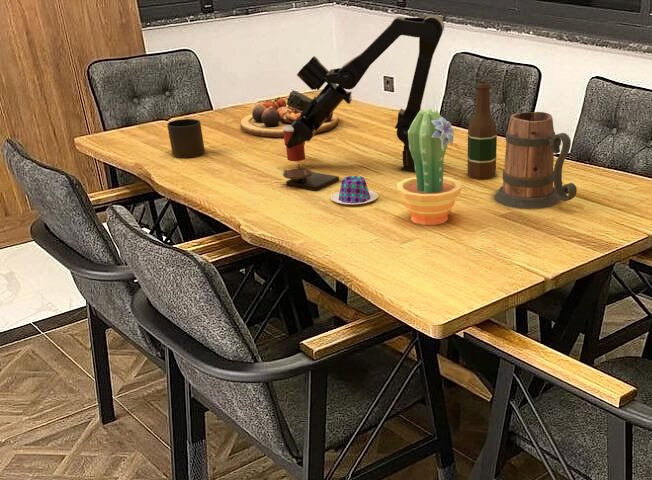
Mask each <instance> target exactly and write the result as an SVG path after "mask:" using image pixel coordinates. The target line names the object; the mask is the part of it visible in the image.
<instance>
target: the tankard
mask: <svg viewBox="0 0 652 480" xmlns="http://www.w3.org/2000/svg"><path fill="white" fill-rule="evenodd" d="M507 127H508V128H507V130H506V132H505V155H504V165H503V166H504V167H503V168H504V169H503V170H502V177H501V178H502V185H501V186H500V187H499V188H498V191H497V192H496V193H495V194H494V195H493V200H495V202H497V204H501V205H502V206H506V207H509V208H514V209H525V210H526V209H527V210H528V209H529V210H530V209H531V210H534V209H543V208H549V207H552V206H555V205H557V204H559V203H560V202H561V201H562V202H569V201H571V200H573V199H574V198H575V197H576V195H577V192H578V190H577V186H576V185H575V183H573V182H569V183H566V184H563V177H562V176H563V175H562V174H563V166H564V163H565V160H566V158H567V156H568V154H569V153H570V150H571V144H572V142H571V141H572V140H571V137H570V136H569V134H567V133H566V132H561V133H557V134H556V132H555V127H554V119H553V115H551V113H548V112H544V111H532V112H531V111H530V112H529V111H528V112H527V111H526V112H524V111H522V112H516V113H513V114H511V115H510V118H509V122H508V126H507ZM556 154H557V155H558V154H559V155H558V156H557V158H556V161H555V156H554V155H556ZM554 161H555V162H554Z"/></svg>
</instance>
